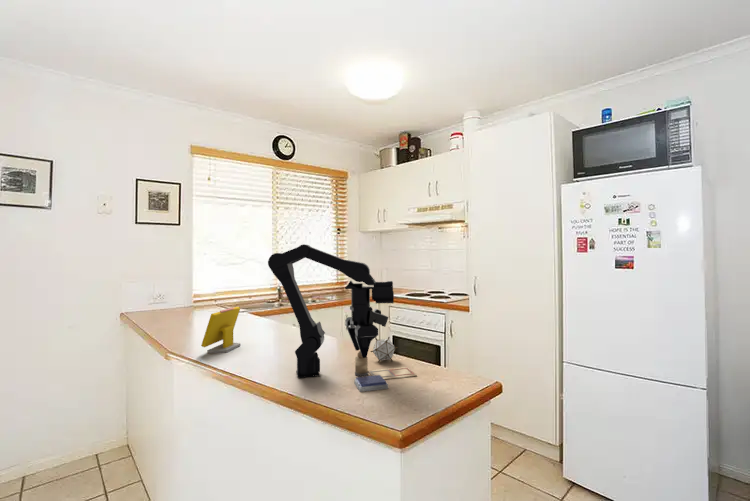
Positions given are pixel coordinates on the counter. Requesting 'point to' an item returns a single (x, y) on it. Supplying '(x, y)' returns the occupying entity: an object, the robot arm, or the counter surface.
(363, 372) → the stamp
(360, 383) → the ink pad
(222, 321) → the toy computer monitor
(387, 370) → the card sheet
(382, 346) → the game die
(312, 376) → the robot arm
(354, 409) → the counter surface
